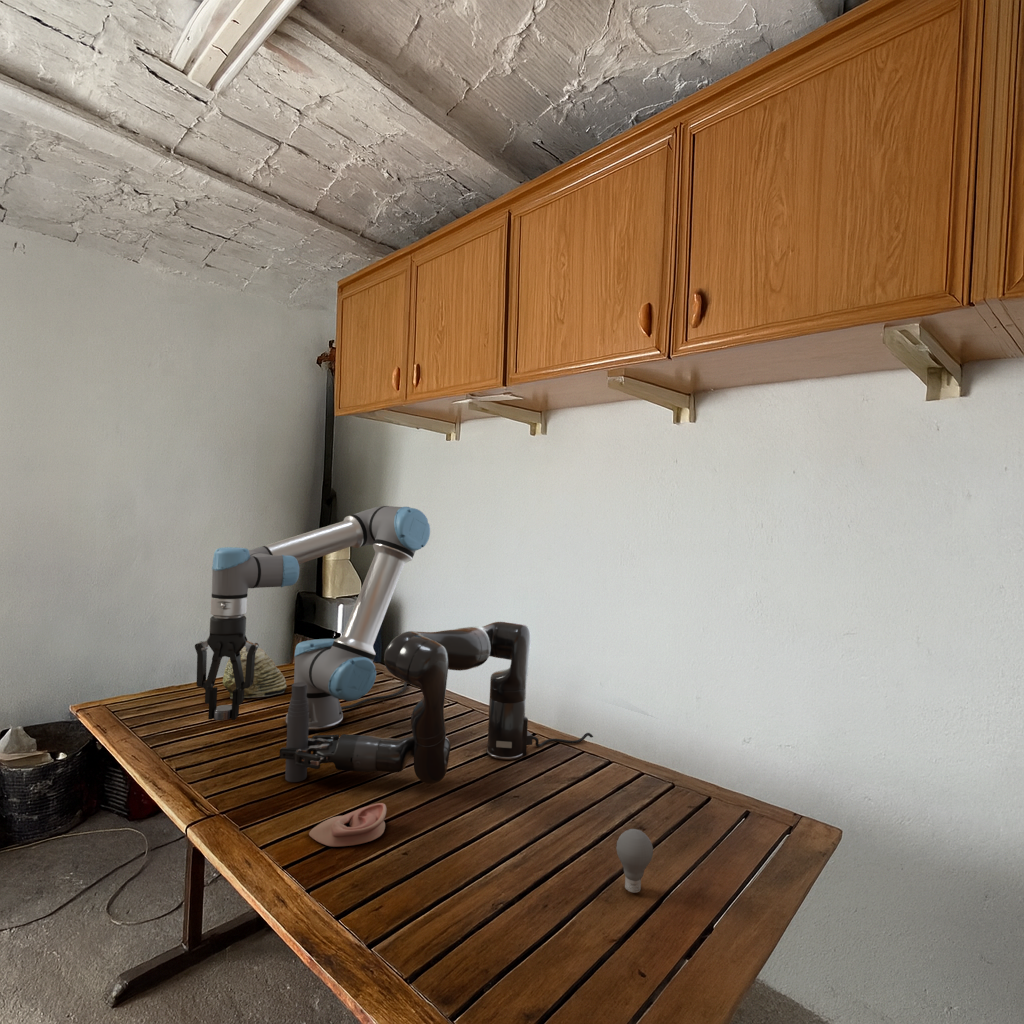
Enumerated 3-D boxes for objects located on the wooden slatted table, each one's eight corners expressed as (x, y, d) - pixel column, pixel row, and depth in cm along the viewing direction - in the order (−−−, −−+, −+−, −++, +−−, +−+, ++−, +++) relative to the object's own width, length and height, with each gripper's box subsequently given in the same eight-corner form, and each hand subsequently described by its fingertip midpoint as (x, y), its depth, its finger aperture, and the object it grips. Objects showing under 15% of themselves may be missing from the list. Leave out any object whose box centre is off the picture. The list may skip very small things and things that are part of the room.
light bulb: (610, 879, 108) (613, 822, 108) (644, 879, 109) (647, 822, 109) (619, 902, 102) (622, 840, 102) (655, 901, 103) (658, 840, 103)
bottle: (281, 777, 142) (285, 683, 142) (300, 771, 145) (304, 680, 145) (290, 784, 139) (294, 688, 139) (310, 778, 142) (313, 684, 142)
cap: (212, 721, 141) (213, 711, 141) (213, 715, 145) (213, 705, 145) (233, 719, 143) (234, 710, 143) (233, 713, 147) (234, 704, 147)
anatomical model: (301, 820, 116) (331, 792, 127) (300, 842, 116) (330, 812, 127) (368, 831, 113) (393, 801, 124) (368, 853, 113) (392, 821, 124)
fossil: (218, 695, 195) (220, 647, 195) (278, 685, 208) (279, 640, 207) (228, 703, 189) (230, 653, 188) (289, 692, 201) (290, 645, 201)
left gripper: (181, 617, 140) (176, 722, 140) (263, 619, 141) (258, 724, 142) (195, 611, 147) (190, 711, 147) (272, 614, 149) (267, 712, 149)
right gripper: (369, 725, 148) (298, 720, 149) (350, 749, 134) (271, 743, 135) (368, 756, 148) (296, 752, 149) (349, 784, 134) (270, 778, 135)
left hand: (223, 717), depth 144 cm, fingers closed on cap, 4 cm apart
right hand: (285, 748), depth 142 cm, fingers closed on bottle, 4 cm apart
